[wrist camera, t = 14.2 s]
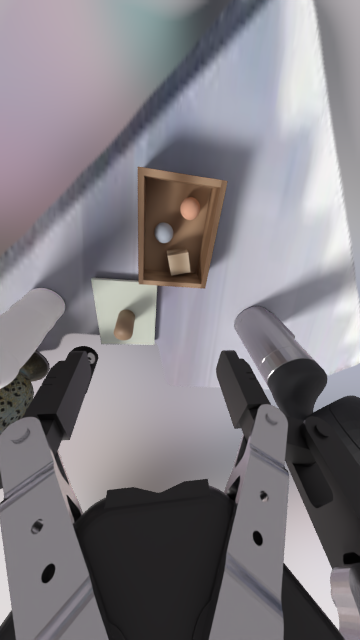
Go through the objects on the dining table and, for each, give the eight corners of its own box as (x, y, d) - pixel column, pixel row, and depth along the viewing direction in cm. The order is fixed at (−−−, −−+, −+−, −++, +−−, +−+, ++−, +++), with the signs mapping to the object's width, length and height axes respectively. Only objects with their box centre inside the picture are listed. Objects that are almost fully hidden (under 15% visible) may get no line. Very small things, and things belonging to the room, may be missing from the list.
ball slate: (173, 222, 32) (174, 225, 30) (171, 241, 34) (172, 245, 31) (154, 220, 32) (154, 222, 29) (154, 239, 34) (153, 244, 31)
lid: (157, 279, 39) (157, 297, 33) (154, 340, 48) (154, 362, 42) (93, 275, 37) (80, 293, 31) (103, 339, 46) (94, 362, 40)
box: (215, 182, 30) (227, 181, 25) (198, 276, 39) (205, 288, 34) (140, 170, 28) (137, 166, 23) (140, 271, 37) (138, 284, 32)
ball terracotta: (199, 198, 31) (203, 198, 28) (196, 219, 32) (200, 222, 30) (180, 195, 30) (183, 195, 28) (178, 217, 32) (180, 220, 29)
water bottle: (34, 279, 36) (-124, 397, 15) (71, 298, 39) (-20, 417, 18) (23, 305, 39) (-123, 434, 18) (59, 321, 42) (-32, 446, 21)
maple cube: (185, 247, 35) (188, 252, 32) (187, 265, 37) (190, 272, 34) (166, 250, 35) (167, 255, 32) (169, 268, 37) (171, 275, 34)
